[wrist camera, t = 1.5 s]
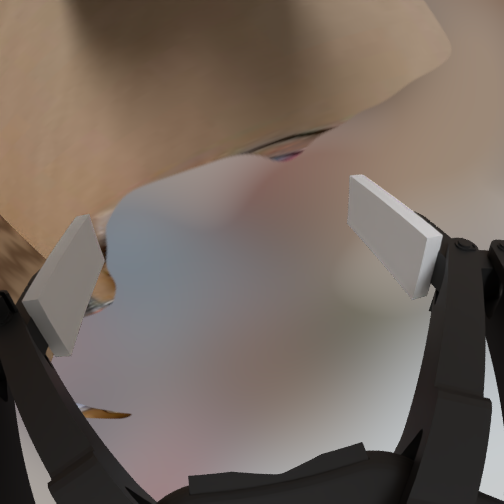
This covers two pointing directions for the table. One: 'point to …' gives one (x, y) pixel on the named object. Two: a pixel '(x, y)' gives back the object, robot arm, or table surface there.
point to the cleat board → (17, 264)
